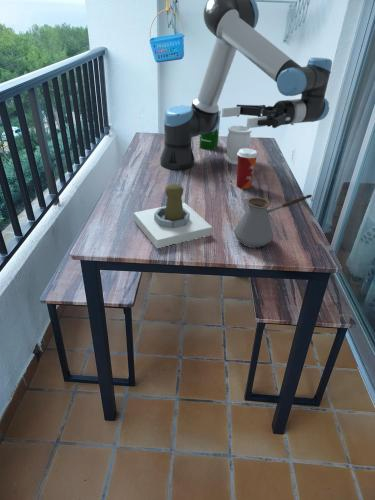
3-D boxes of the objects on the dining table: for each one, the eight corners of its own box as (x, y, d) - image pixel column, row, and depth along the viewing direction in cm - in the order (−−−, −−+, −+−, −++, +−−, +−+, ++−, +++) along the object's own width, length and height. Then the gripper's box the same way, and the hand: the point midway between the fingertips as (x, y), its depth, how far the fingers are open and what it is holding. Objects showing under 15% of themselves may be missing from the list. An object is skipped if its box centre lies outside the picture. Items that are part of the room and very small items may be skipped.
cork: (187, 222, 108) (187, 188, 102) (168, 225, 107) (167, 190, 101) (180, 213, 113) (180, 180, 107) (161, 216, 111) (161, 182, 105)
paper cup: (252, 191, 138) (257, 155, 130) (232, 188, 139) (236, 153, 131) (253, 183, 144) (258, 148, 136) (234, 181, 145) (238, 146, 138)
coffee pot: (237, 252, 102) (244, 204, 94) (229, 231, 112) (235, 186, 103) (309, 250, 104) (322, 203, 96) (295, 230, 114) (306, 186, 106)
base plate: (134, 220, 115) (133, 206, 112) (184, 210, 122) (184, 196, 120) (157, 249, 102) (156, 234, 99) (211, 235, 109) (212, 221, 107)
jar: (247, 166, 159) (251, 132, 151) (224, 164, 161) (227, 130, 152) (247, 158, 168) (252, 126, 160) (225, 156, 169) (228, 124, 161)
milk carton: (197, 148, 178) (199, 105, 167) (203, 143, 185) (205, 102, 174) (214, 151, 176) (217, 108, 165) (219, 145, 183) (223, 104, 172)
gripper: (312, 134, 111) (257, 141, 103) (262, 115, 129) (212, 120, 121) (318, 108, 107) (261, 114, 99) (266, 93, 125) (214, 96, 117)
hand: (234, 117), depth 110 cm, fingers open, 13 cm apart
